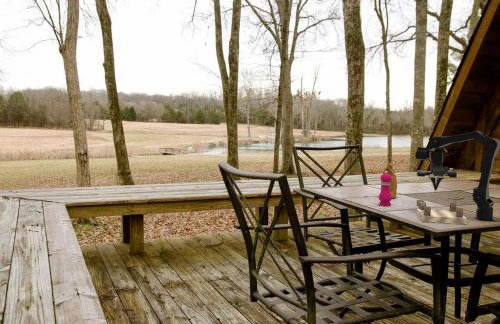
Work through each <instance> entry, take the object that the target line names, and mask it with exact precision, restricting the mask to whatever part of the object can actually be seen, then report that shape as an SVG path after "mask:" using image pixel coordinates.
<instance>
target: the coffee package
mask: <svg viewBox="0 0 500 324" xmlns="http://www.w3.org/2000/svg"><path fill="white" fill-rule="evenodd" d="M393 166H394V163H393V162H390V163H387V166H386V167H385V168H384V170H383V172H382V174H385V173H384V172H385V171H387V172H388V173H387V174H389V175H391V181H390V185H389V190H390V193H391V196H392V199H394V198H395V197H396V196H397V191H398V181H397V175H396V174H395V172H394V170H393ZM381 182H382V181H381V180H380V191H381V190H382V184H381Z"/></svg>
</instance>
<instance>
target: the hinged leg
mask: <svg viewBox="0 0 500 324" xmlns="http://www.w3.org/2000/svg"><path fill="white" fill-rule="evenodd" d="M416 206H417V208H419V209H422V210H424V206H427V203H426V202H425V200H423V199H416Z"/></svg>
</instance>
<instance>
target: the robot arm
mask: <svg viewBox="0 0 500 324" xmlns="http://www.w3.org/2000/svg"><path fill="white" fill-rule="evenodd" d="M470 140H475V141H477V142H478V143H479V144H481V145H482V146H483V152H484V153H483V155H484V159H483V164H482V168H481V173H480V177H479V182H478V183H479V184H478V186H476V187H474V188H472V194H471V197H472V200H473V202H474V203H475V204H476V209H475V218H476V219H477V220H479V221H490V222H491V221H492V222H494V219H493V218H494V216H493V215H494V204H495V201H494V200H492V199H491V198H490V188H489V186H490V180H491V176H492V171H493V167H494V162H495V157H496V156H497V154H498V152H499V151H500V140H499V139H497V138H492V137H490V136H489V135H486V134H485V133H483V132H481V130H480V131H479V130H473V131H470V132H464V133H459V134H455V135H450V136H433V137H431V139H430V142H429V144H428V145H427V146H426V147H422V146H418V147H417V149H416V151H415V160H418V161H419V160H420V161H421V160H422V161H428V160H429V159H430V171H427V170H424V169H423V170H417V171H416V176H417V177H420V178H421V177H426V176H427V178H428V179H430V181H431V184H432V186H433V189H434V191H437V190H438V188H439V185H440V183H441V182H442V180H444V179H445V177H449V178H455V179H457V176H458V173H457V172H456V171H451V170H449V166H444V164H443V163H444V153H448V150H447V149H446V148H445V147H446V146H449V145H451V144H455V143H461V142H466V141H470Z"/></svg>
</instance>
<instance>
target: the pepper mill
mask: <svg viewBox="0 0 500 324" xmlns="http://www.w3.org/2000/svg"><path fill="white" fill-rule="evenodd" d="M384 173H385V174H383V173H382V174H381V175H380V177H379V178H380V185H381V184H382V190H381V189H380V192H379V194H378V200H379V202H378V203H379V206H380V207H391V205H392V203H391V201H392V199H393V198H392V196H391V193H390V190H389V185H390V181H391V175H389V174H387V173H388V172H387V171H385V172H384ZM381 181H382V182H381Z"/></svg>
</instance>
